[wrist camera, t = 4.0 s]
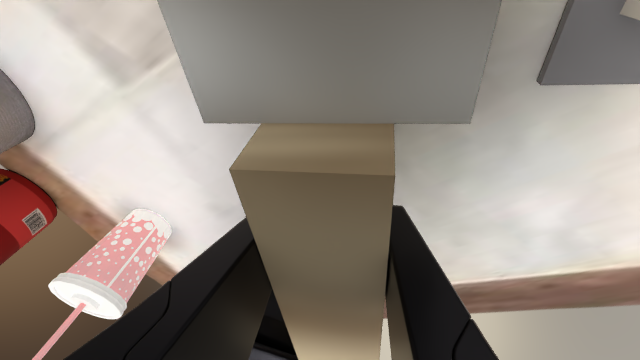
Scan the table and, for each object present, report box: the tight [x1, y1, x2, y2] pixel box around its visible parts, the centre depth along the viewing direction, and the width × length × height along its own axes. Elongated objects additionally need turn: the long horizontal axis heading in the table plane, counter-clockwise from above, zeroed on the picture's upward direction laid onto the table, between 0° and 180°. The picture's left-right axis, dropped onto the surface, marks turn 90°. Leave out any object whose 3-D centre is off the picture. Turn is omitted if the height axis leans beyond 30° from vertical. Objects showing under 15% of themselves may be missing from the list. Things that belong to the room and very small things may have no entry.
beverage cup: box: [32, 208, 172, 360], centre depth 26 cm, size 6×6×14 cm
